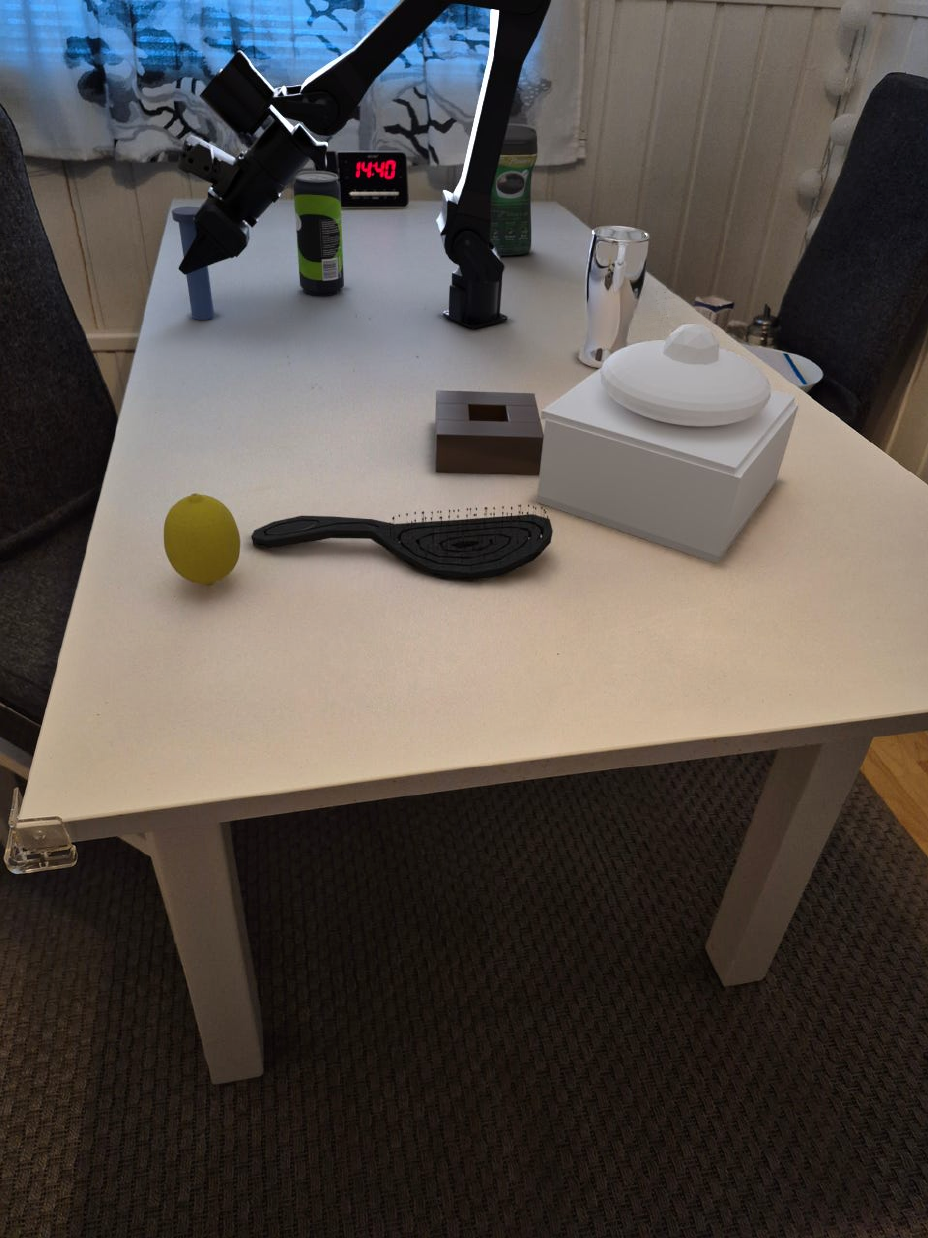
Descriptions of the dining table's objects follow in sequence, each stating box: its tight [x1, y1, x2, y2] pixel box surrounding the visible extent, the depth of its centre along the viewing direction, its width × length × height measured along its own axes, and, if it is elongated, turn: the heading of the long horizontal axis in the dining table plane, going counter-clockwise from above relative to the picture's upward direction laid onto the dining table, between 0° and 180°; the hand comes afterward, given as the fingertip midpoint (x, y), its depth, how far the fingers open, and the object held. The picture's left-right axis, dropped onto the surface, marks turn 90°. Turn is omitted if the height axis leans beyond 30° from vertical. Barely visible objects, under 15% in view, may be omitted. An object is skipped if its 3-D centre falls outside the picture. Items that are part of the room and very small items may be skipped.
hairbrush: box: [250, 503, 554, 582], centre depth 73 cm, size 8×4×25 cm
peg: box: [171, 206, 215, 321], centre depth 112 cm, size 4×4×13 cm
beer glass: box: [578, 225, 651, 369], centre depth 105 cm, size 7×7×15 cm
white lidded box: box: [536, 323, 800, 564], centre depth 79 cm, size 18×18×16 cm
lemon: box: [163, 492, 241, 586], centre depth 67 cm, size 6×6×8 cm
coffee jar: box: [490, 123, 539, 256], centre depth 141 cm, size 10×8×19 cm
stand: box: [434, 389, 544, 476], centre depth 88 cm, size 10×10×4 cm
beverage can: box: [292, 170, 345, 297], centre depth 122 cm, size 6×6×15 cm
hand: (187, 260), depth 111 cm, fingers open, 9 cm apart
